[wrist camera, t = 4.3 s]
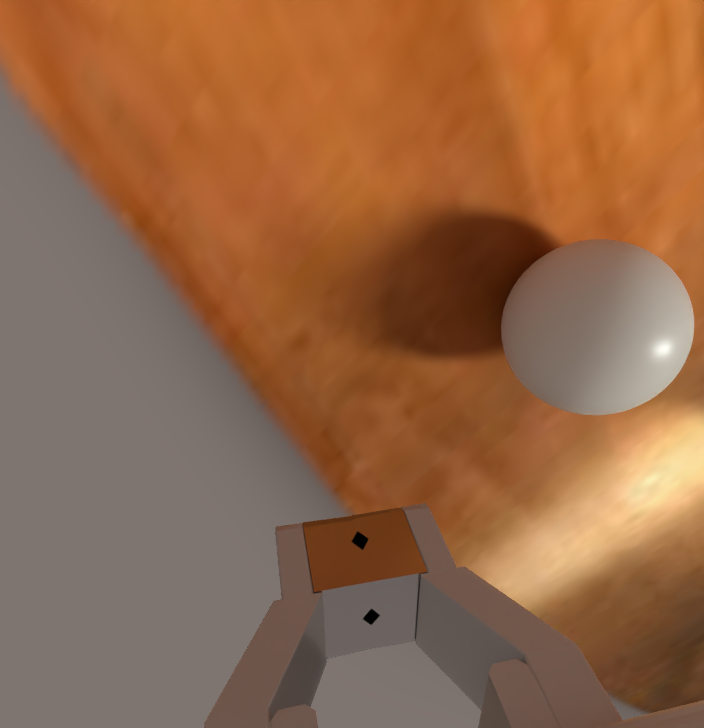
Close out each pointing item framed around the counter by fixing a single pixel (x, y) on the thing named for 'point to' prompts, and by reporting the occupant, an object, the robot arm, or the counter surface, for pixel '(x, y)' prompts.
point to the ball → (597, 327)
